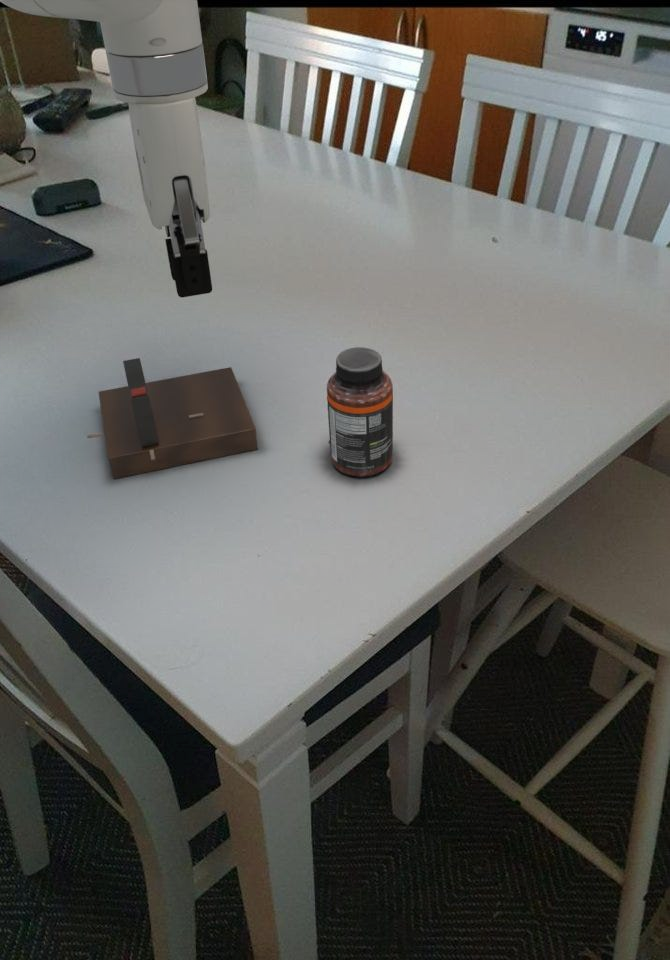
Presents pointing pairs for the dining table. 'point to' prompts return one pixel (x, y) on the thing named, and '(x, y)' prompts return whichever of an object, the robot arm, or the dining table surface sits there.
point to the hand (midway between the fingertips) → (191, 284)
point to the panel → (178, 423)
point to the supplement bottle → (360, 413)
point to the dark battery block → (140, 402)
